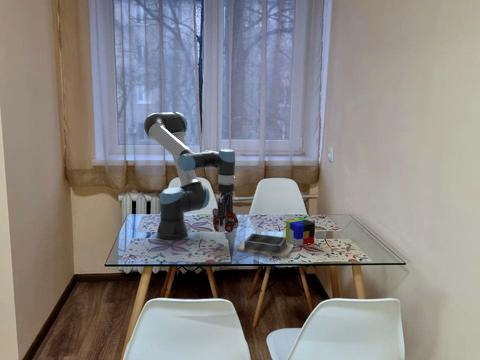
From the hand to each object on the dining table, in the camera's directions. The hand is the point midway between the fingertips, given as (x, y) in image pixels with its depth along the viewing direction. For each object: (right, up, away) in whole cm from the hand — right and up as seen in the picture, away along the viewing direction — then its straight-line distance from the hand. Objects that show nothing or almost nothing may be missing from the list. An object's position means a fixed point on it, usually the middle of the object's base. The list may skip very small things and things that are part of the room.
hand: (224, 229), depth 213 cm
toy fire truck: (0, -1, 0) cm, 1 cm away
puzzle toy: (+36, -7, +5) cm, 37 cm away
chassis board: (+19, -8, -6) cm, 22 cm away
